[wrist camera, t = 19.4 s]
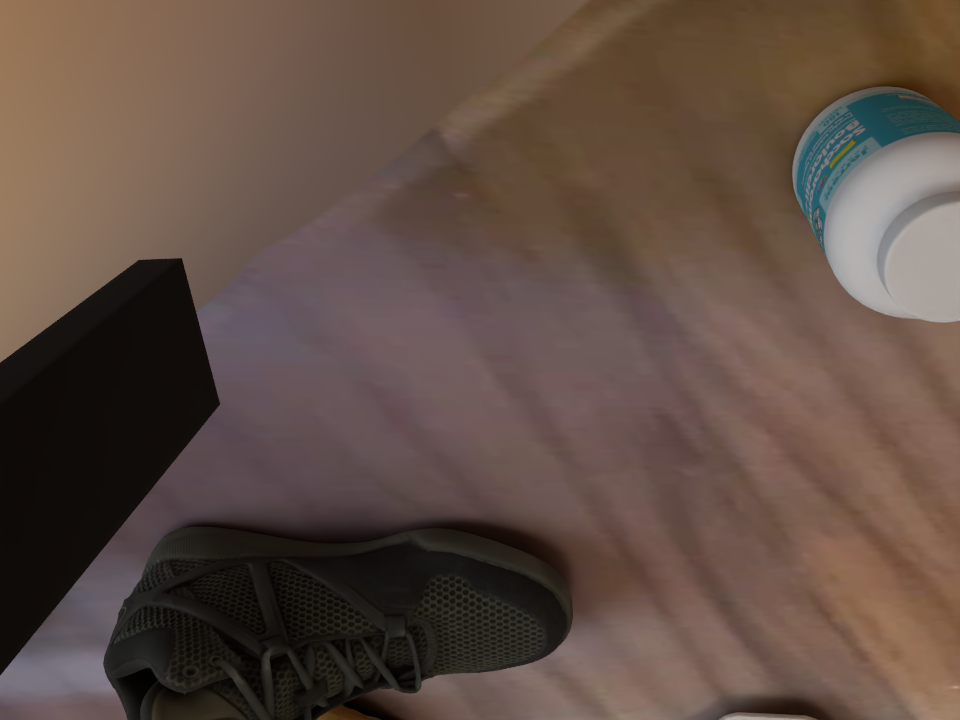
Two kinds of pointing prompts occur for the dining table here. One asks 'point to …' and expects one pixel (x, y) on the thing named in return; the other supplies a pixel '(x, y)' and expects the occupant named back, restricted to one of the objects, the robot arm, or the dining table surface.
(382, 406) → the dining table surface
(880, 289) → the pill bottle
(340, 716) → the bread
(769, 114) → the dining table surface
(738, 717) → the plate
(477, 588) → the sneaker
